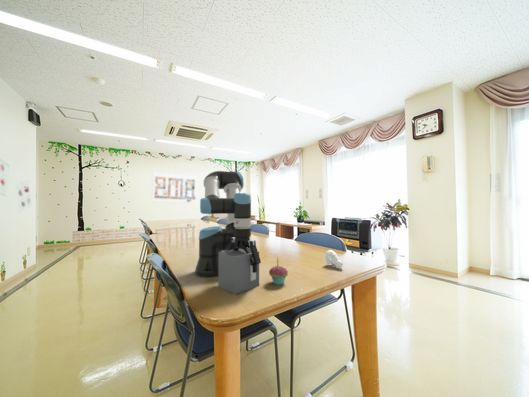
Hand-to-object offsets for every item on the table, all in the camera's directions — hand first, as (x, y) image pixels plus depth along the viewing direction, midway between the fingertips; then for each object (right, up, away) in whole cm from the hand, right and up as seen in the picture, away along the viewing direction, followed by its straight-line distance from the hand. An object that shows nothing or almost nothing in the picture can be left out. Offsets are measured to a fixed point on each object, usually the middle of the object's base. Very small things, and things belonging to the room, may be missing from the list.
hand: (242, 276), depth 90 cm
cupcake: (+16, -4, +2) cm, 17 cm away
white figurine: (+49, -4, +25) cm, 56 cm away
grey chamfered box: (-1, -3, -2) cm, 4 cm away
